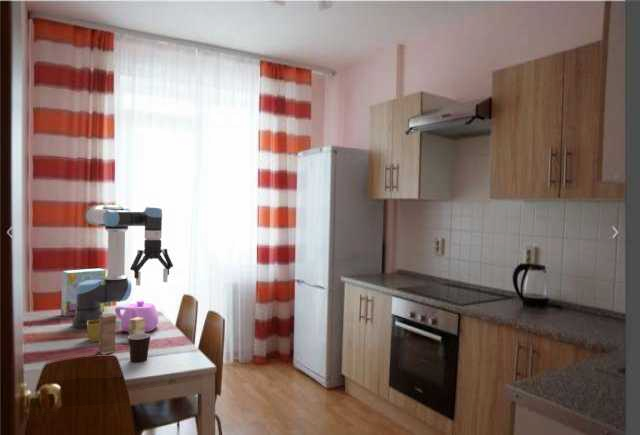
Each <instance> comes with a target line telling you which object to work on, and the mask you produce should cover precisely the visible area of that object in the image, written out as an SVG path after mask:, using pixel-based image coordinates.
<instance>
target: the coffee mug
mask: <svg viewBox="0 0 640 435" xmlns="http://www.w3.org/2000/svg"><path fill="white" fill-rule="evenodd" d="M127 338H128V350H129V356H130V357H129V360H130V363H133V364H134V363H135V364H139V363H143V362H146V361H147V360H148V354H149V350H150V349H149V348H150V343H151V342H150V340H151V334H149V333H147V332H145V333H139V334H133V335H130V336H129V335H128V336H127Z"/></svg>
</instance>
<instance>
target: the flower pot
mask: <svg viewBox="0 0 640 435" xmlns="http://www.w3.org/2000/svg"><path fill="white" fill-rule="evenodd" d="M86 329H87V336H88V339H89V341H90V342H91V343H96V342H99V320H89V321H87V328H86Z"/></svg>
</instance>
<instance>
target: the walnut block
mask: <svg viewBox="0 0 640 435" xmlns="http://www.w3.org/2000/svg"><path fill="white" fill-rule="evenodd" d="M116 322H117V314H114V313H112V312H111V313H103V315H99V341H98V352H99V353H101V354H103V355H105V354H106V355H107V354H109V353H116V330H117V329H116V328H117V326H116V325H117V324H116Z"/></svg>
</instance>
